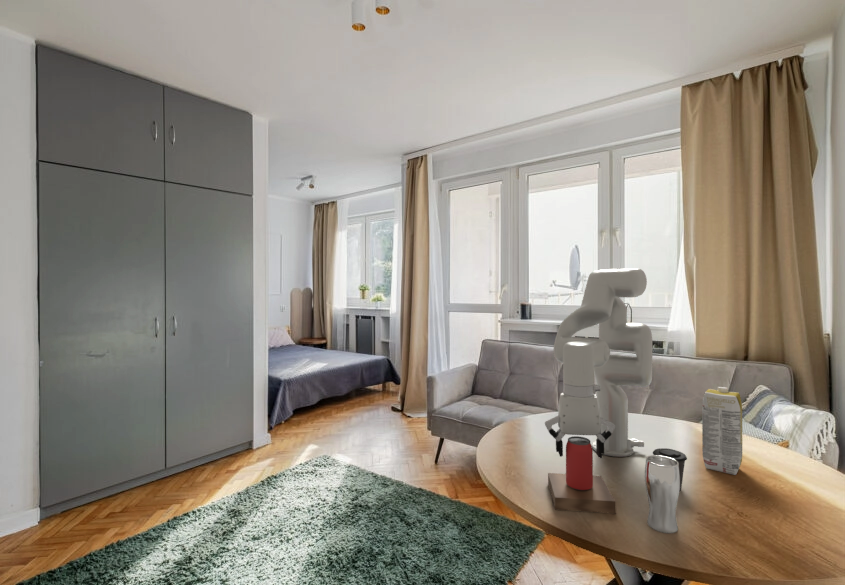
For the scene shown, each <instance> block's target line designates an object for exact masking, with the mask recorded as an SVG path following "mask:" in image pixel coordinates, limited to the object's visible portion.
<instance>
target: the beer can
mask: <svg viewBox="0 0 845 585" xmlns="http://www.w3.org/2000/svg"><path fill="white" fill-rule="evenodd" d="M593 450H594V449H593V448H592V443H591V440H590V438H587V437H584V436H580V435H572V436H569V437H568V438H567V442H566V445H565V474H566V483H567V485H568V486H569V487H571V488H573V489H575V490H580V491H586V490H589V489H591V488H592V487H593V476H594V473H593V472H594V470H593V469H594V468H593V467H594V465H593V464H594V463H593V462H594V460H593V458H594V454H593Z"/></svg>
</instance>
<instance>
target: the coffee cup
mask: <svg viewBox="0 0 845 585" xmlns="http://www.w3.org/2000/svg"><path fill="white" fill-rule="evenodd" d="M652 455H661V456H666V457H670V458H673V459H675V460H676V461H678V463H679V474H680V490H679V493H681V491H682V487H683V481H684V480H683V479H684V470H685V462H686V461H687V460H688V457H687V456H686V455H687V454H685V453H683V452H681V451H680V450H676V449H672V448H656V449H654V450H653V451H652Z"/></svg>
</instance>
